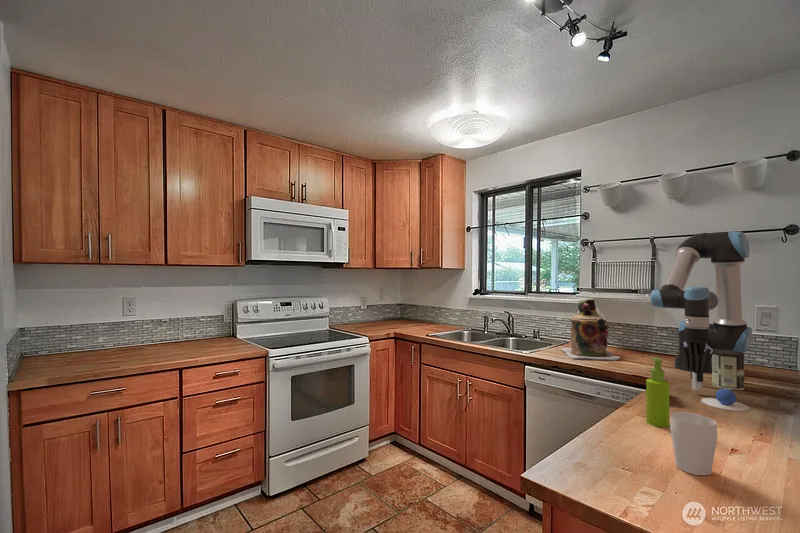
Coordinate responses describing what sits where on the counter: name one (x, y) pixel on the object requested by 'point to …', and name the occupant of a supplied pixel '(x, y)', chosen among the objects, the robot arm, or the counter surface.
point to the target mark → (717, 404)
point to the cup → (693, 442)
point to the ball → (726, 396)
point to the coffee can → (728, 369)
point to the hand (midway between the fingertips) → (696, 389)
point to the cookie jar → (589, 334)
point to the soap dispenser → (657, 396)
